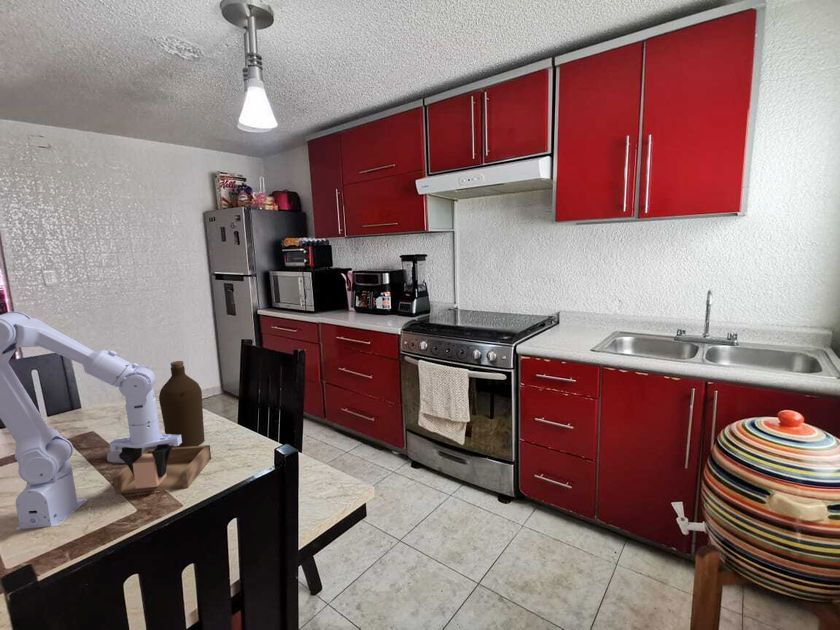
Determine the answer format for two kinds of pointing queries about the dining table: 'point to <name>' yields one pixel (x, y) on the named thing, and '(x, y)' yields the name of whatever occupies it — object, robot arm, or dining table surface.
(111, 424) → the dining table surface
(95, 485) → the dining table surface
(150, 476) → the block
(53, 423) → the dining table surface
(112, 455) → the stone block
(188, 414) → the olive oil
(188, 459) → the box
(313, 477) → the dining table surface
